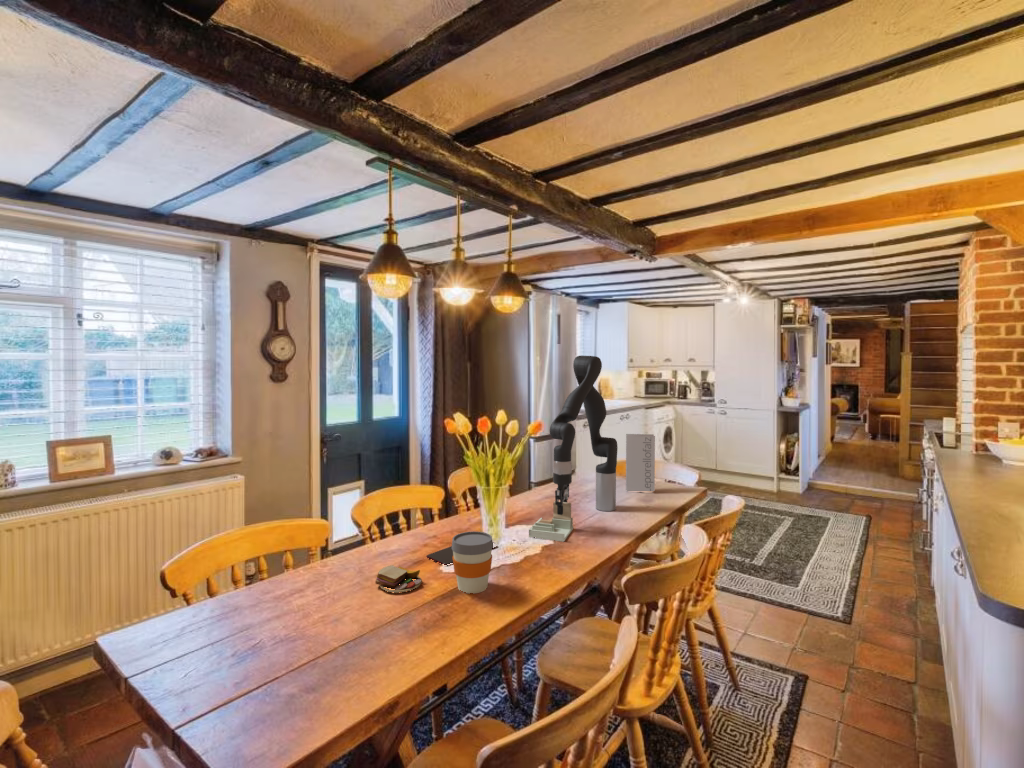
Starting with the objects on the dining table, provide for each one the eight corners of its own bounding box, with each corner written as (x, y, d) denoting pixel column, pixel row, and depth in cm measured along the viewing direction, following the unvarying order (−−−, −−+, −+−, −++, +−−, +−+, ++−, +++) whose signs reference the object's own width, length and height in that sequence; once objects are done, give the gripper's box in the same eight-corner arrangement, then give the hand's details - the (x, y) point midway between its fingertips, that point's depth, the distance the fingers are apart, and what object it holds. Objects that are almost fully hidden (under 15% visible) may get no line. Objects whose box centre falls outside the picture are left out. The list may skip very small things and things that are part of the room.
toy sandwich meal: (403, 599, 144) (403, 583, 143) (368, 589, 150) (368, 573, 150) (430, 582, 155) (429, 567, 154) (396, 573, 161) (396, 559, 161)
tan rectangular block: (554, 525, 204) (554, 501, 204) (571, 527, 202) (571, 502, 201) (553, 526, 203) (553, 502, 202) (570, 528, 200) (570, 504, 200)
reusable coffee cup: (444, 592, 147) (443, 542, 147) (463, 575, 159) (463, 529, 158) (482, 599, 143) (482, 548, 142) (499, 581, 154) (499, 534, 154)
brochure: (626, 492, 259) (626, 435, 257) (625, 489, 264) (626, 433, 263) (654, 493, 256) (655, 436, 255) (653, 490, 262) (653, 434, 260)
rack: (540, 524, 208) (540, 514, 208) (573, 528, 203) (573, 517, 203) (528, 537, 193) (528, 526, 193) (563, 541, 188) (563, 530, 188)
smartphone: (423, 555, 174) (476, 536, 192) (423, 559, 174) (477, 540, 192) (445, 565, 165) (499, 544, 183) (445, 569, 165) (499, 548, 183)
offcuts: (541, 526, 202) (541, 519, 202) (554, 528, 201) (554, 520, 200) (537, 530, 198) (537, 522, 198) (550, 532, 196) (550, 524, 196)
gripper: (557, 467, 209) (557, 506, 210) (548, 474, 196) (548, 516, 196) (575, 468, 207) (575, 507, 207) (567, 476, 193) (567, 518, 194)
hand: (562, 511), depth 202 cm, fingers open, 6 cm apart
